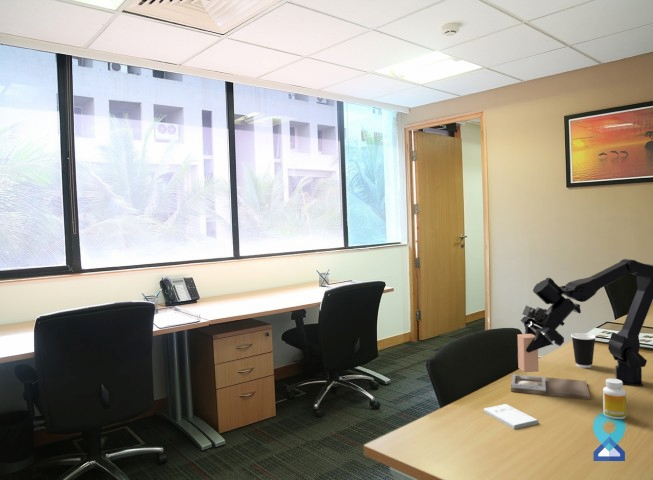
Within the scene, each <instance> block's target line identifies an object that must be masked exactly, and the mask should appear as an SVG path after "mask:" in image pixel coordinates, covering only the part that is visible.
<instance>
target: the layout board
mask: <svg viewBox="0 0 653 480" xmlns="http://www.w3.org/2000/svg"><path fill="white" fill-rule="evenodd" d="M511 375H512V376H511V381H510V391H511V392H512V393H520V394H521V393H522V394H530V395H541V396H551V397H562V398H570V399H572V398H573V399H579V400H580V399H581V400H582V399H583V400H591V395H590V391H589V387H588V384H587V381H586V380H582V379H581V380H579V379H571V378H558V377H545V376H539V375H538V376H537V375H523V374H515V373H513V374H511Z"/></svg>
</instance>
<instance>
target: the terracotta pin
mask: <svg viewBox="0 0 653 480" xmlns="http://www.w3.org/2000/svg"><path fill="white" fill-rule="evenodd" d="M534 338H535V335H533V334H525V333H522V334H521V333H520V334H517V363H518V365H517V366H518V369H519V370H521V371H522V372H523V373H533V372H534V373H535V372H539V349H537V350H534V351H532V352H529V353H528V352H527V351H526V349H527V347H528V346H529V345H530V343H531V342H532V340H533V339H534Z"/></svg>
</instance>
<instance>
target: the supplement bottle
mask: <svg viewBox="0 0 653 480" xmlns="http://www.w3.org/2000/svg"><path fill="white" fill-rule="evenodd" d="M605 385H606V386H604V387H603V388H602V411H603V412H602V413H603V415H604V416H605V417H607V418H609V419H613V420H623V419H625V418H627V397H626V396H627V391H626V390H625V389H624V387H623V386H624V384H623V382H622V381H621V380H618V379H616V378H610V377H609V378H606V379H605Z"/></svg>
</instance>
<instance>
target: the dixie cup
mask: <svg viewBox="0 0 653 480" xmlns="http://www.w3.org/2000/svg"><path fill="white" fill-rule="evenodd" d="M570 336H571V339H572V346H573V347H572V348H573V353H574V361H575V364H576V367H578V368H580V369H582V368H583V369H591V368H592V367H593V366H592V365H593V362H594V353H595V344H596V343H595V342H596V341H595V340H596V339H597V336H596V335H593V334H591V333H585V332H584V333H581V332H579V333H571V334H570Z"/></svg>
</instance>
